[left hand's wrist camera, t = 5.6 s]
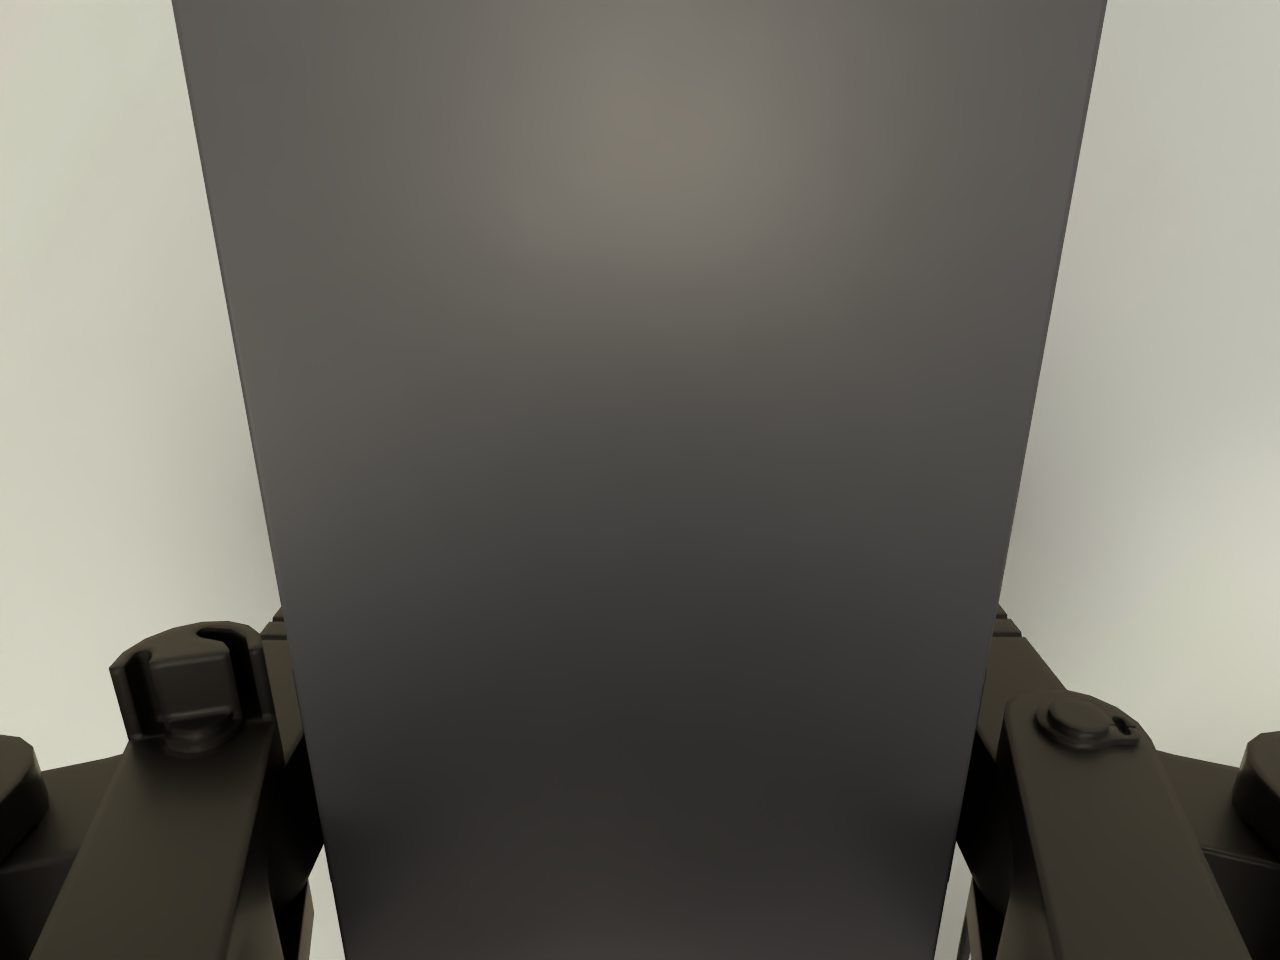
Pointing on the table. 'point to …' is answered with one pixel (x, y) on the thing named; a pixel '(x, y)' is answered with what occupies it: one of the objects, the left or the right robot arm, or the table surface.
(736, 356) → the post
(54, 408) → the table surface
